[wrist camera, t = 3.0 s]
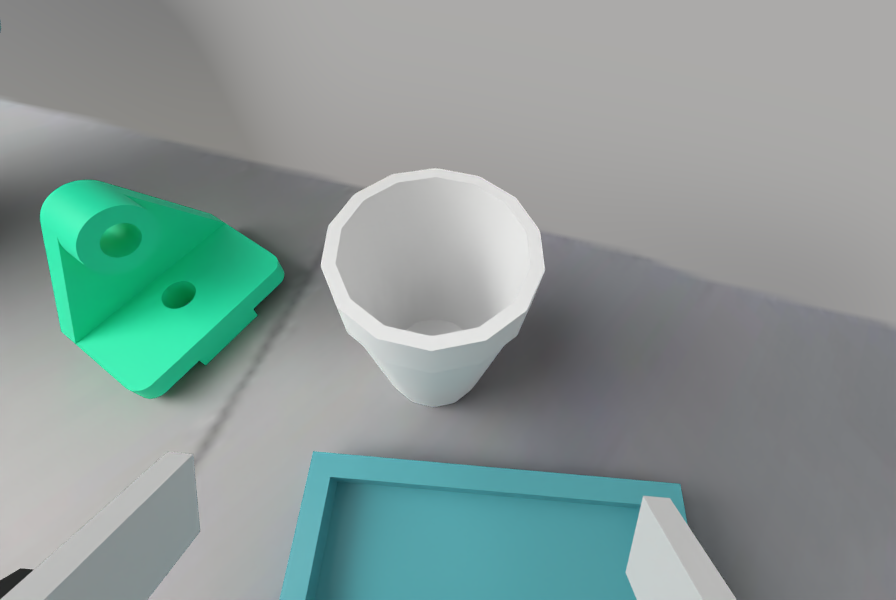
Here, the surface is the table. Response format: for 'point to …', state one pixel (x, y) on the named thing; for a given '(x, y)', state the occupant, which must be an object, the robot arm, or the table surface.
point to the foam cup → (433, 277)
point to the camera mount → (149, 281)
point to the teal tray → (462, 532)
